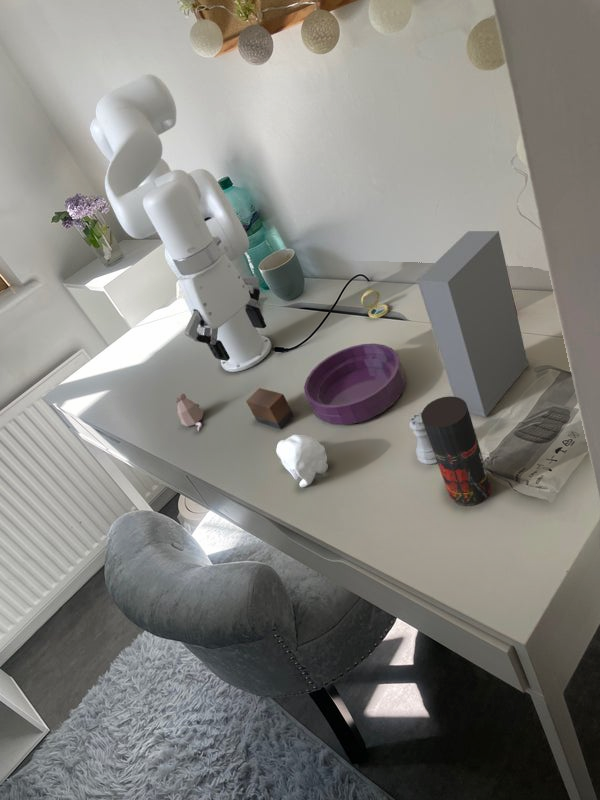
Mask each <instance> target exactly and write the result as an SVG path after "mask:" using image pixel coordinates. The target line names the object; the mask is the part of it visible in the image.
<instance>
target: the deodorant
mask: <svg viewBox="0 0 600 800" xmlns="http://www.w3.org/2000/svg"><path fill="white" fill-rule="evenodd" d="M421 413H422V415H421V417H422V421H423V424H424V427H425V430H426V432H427V435H428V438H429V441H430V443H431V446H432V449H433V452H434V455H435V457H436V460H437V463H436V464H437V465H438V468H439V471H440V474H441V476H442V480H443V482H444V485H445V488H446V491H447V493H448V496H449V498H450V500H451V501H452V502H453V503H455V504H456V505H458V506H462V507H473V506H476V505H479V504H482V503H483V502H484V501H485V500H487V499H488V498H489V497H490V494H491V493H492V484H491V480H490V477H489V474H488V471H487V467H486V464H485V461H484V458H483V454H482V450H481V448H480V444H479V441H478V438H477V434H476V430H475V428H474V424H473V420H472V417H471V413H469V410H468V407H467V404H466V402H465V401H464V400H462V399H461V398H458V397H454V396H452V395H451V396H443V397H439V398H437V399H434V400H432V401H430V402H429V403H428V404H426V405H425V407H424V408H423V410H422V411H421Z"/></svg>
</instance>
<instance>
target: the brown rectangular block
mask: <svg viewBox="0 0 600 800" xmlns="http://www.w3.org/2000/svg"><path fill="white" fill-rule="evenodd" d="M245 402H246V404H247V406H248V408H249V409H250V411H251V413H252V415H253V416H254V419H255V420H256V422H257V423H259V424H263V425H266V426H269V427H273V428H275V429H279V430H282V429H283V428H284V427H285V426H286V425H287V424H288V423H289V422H290V421H291V420H292V419H293V418H294V417H295V414H294V412H293V410H292V408H291V407H290V405H289V402H288V400H287V399H286V397H285V394H284V393H280V392H277V391H273V390H269V389H265V388H261V387H259V388H258V389H256V390H255V391H254V393H252V394H251V395H250V396H249V397H248V398H247V399H246V400H245Z"/></svg>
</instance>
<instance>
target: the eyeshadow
mask: <svg viewBox="0 0 600 800" xmlns="http://www.w3.org/2000/svg"><path fill="white" fill-rule="evenodd" d="M380 300H381V295H380V293H379V291H378V290H376V289H368V290H367V291H365V292H364V293H363V295H362V296H361V299H360V302H361V305H362V306H363V307H364V308H365V309H369V310H368V313H367V314H368V317H369V318H371V319H379V318H381V317H384V316H385V315H386V314H387V313H388V312H389V307H388V305H387V304H384V303H382V304H379V302H380Z"/></svg>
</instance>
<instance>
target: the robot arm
mask: <svg viewBox="0 0 600 800" xmlns="http://www.w3.org/2000/svg"><path fill="white" fill-rule="evenodd" d="M176 105H177V104H176V102H175V100H174V96H173V95H172V93H171V91H170V89H169V87H168V86H167V85H166V83H165V82H164V81H163V80H162V79H161V78H160V77H158V76H156V75H154V74H150V73H149V74H144V75H141V76H139V77H137V78H135V79H133V80H131V81H129V82H127V83H125V84H123V85H121V86H119V87H117V88H115V89H113V90H111V91H109V92H107V93H106V94H105V95H103V96H102V97H101V98H100V99H99V101H98V102H97V104H96V107H95V117H94V118H93V119H92V121H91V123H90V126H89V131H90V135H91V138H92V139H93V141H94V143H95V144H96V146H97V147H98V149H99V151H100V152H101V153H102V154H103V156H104V157H105V158H106V160H108V161H109V163H108V165H107V169H106V174H105V177H104V188H105V193H106V196H107V199H108V201H109V204H110V206H111V208H112V210H113V212H114V214H115V217H116V218H117V221H118V222H119V224H120V225H121V228H122V229H123V230H124V232H125V233H126V234H127V235H129V236H130V237H132V238H133V239H136V240H137V239H138V240H142V239H145V238H148V237H151V236H152V235H154V234H156V233H157V234H158V236H159V238H160V239H161V242H162V243H163V245H164V247H165V248H164V254H163V255H164V259H165V262H166V263H167V266H168V267H169V268H170V270H171V271H172V272H173V274H174V275H175V277H177V281H178V284H179V285H178V286H179V288H180V291H181V293H182V297H183V299H184V301H185V305H186V306H187V308H188V311H189V313H190V314H191V317H190V319H189V321H188V323H187V325H186V328H185V330H184V335H185V336H186V337H187V338H190V339H192V340H193V341H194V342H198V343H201V344H202V343H203V344H207V346H208V348H209V350H210V351H211V353H212V355H213V357H214V358H215V359H216V360H218V361H219V360H220V365H221V367H222V368H223V370H225V371H226V372H230V373H236V372H237V373H238V372H242V371H245V370H248V369H250V368H252V367H254V366H256V365H258V364H260V363H261V361H263V360H264V359H265V358H266V357H267V356H268V355H269V353H270V352H271V350H272V342H271V340H270V338H268V337H267V336H266V335H265V336H264V335H260V333H259V331H258V329H265V328H266V327H267V323H266V321H265V318H264V316H263V314H262V312H261V309H260V308H259V307H260V306H261V303H260V301H259V300H260V295H261V290H260V289H259V288H260V283H259V282H260V281H259V277H257V276H243V277H242V276H241V275H240V272H239V271H238V270H237V268H236V267H235V265H234V264H233V262H232V261H234V260H236V259H238V258H239V257H241V256H243V255H244V254H246V253H247V252H248V250H249V248H250V239H249V236H248V234H247V232H246V230H245V227H244V226H243V224H242V222H241V221H240V218H239V217H238V215H237V213H236V211H235V209H234V208H233V206H232V204H231V202H230V201H229V199H228V197H227V195H226V194H225V192H224V190H223V189H222V187H221V185H220V183H219V182H218V180H217V179H216V177H215V176H214V175H213V173H211V172H210V171H209V170H207V169H204V168H198V169H195V170H192V171H190V172H188V173H187V172H186V171H185V170H183V169H174V170H171V168H170V166H169V164H168V163H167V161H165V159H164V158H162V156H163V144H162V140H161V138H160V135H162V134H164V133H166V132H167V131H169V130H172V128H174V127H175V126H176V123H177V106H176ZM207 218H208V219H207ZM205 219H207V220H205ZM247 286H249V289H248V287H247ZM245 306H246V307H247V308H246V307H245ZM198 328H201V329H202V334H201V333H199V332H198Z"/></svg>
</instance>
